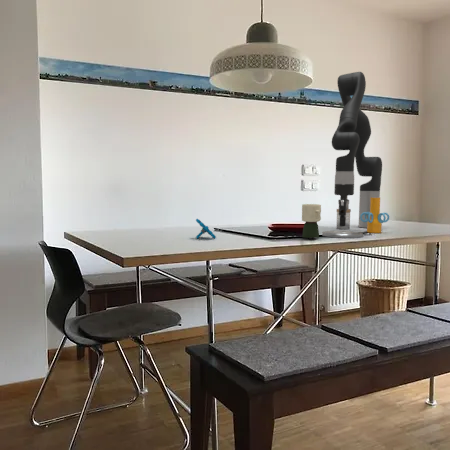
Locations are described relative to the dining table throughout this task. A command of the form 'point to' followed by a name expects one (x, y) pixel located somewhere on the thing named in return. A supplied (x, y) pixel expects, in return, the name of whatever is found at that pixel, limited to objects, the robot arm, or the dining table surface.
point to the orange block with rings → (374, 216)
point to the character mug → (311, 220)
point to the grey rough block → (347, 225)
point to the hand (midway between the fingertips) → (343, 225)
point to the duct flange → (342, 234)
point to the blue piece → (204, 230)
